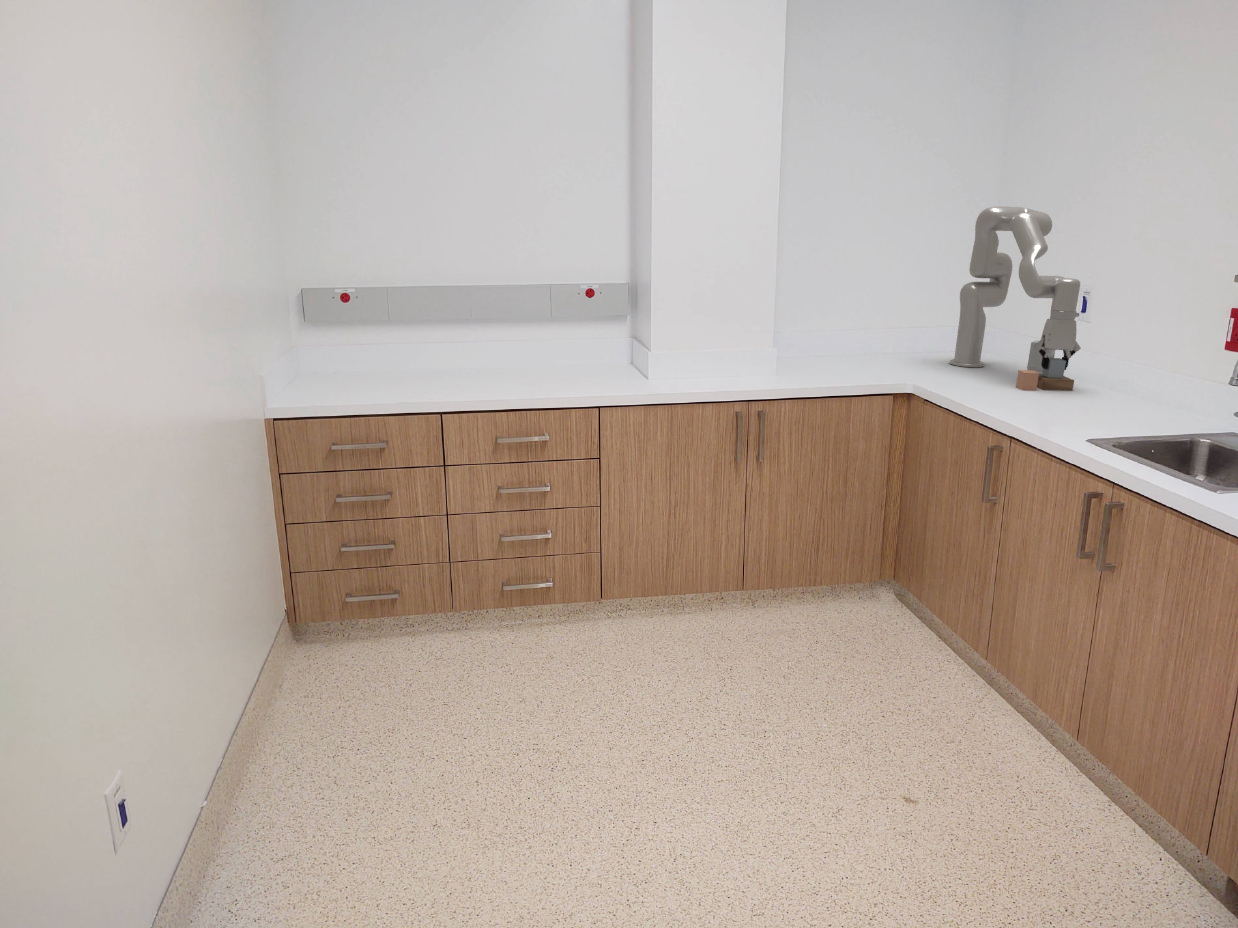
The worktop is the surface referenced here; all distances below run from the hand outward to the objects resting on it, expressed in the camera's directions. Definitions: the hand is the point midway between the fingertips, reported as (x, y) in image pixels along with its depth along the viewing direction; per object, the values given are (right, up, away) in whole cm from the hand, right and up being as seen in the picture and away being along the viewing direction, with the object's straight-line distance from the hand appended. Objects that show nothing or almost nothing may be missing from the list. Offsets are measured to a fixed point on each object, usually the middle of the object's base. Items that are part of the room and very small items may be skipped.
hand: (1053, 368), depth 313 cm
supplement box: (+5, -1, +22) cm, 22 cm away
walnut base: (0, -7, +2) cm, 7 cm away
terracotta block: (-10, -7, -2) cm, 13 cm away
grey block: (0, -3, +1) cm, 3 cm away
